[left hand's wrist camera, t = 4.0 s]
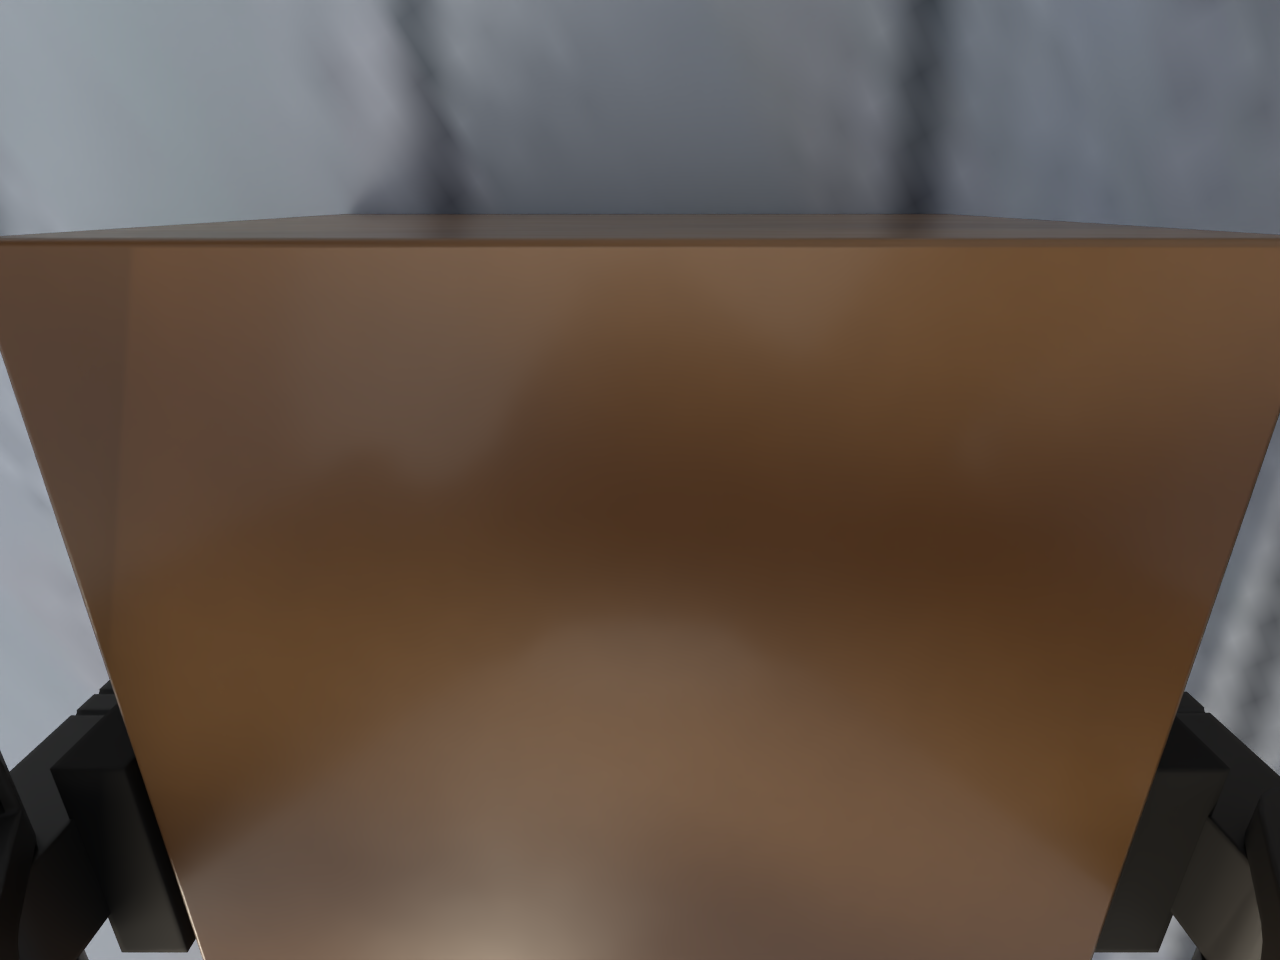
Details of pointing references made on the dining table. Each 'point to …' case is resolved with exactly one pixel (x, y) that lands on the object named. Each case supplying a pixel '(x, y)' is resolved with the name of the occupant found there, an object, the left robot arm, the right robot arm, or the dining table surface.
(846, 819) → the thick board
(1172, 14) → the dining table surface
